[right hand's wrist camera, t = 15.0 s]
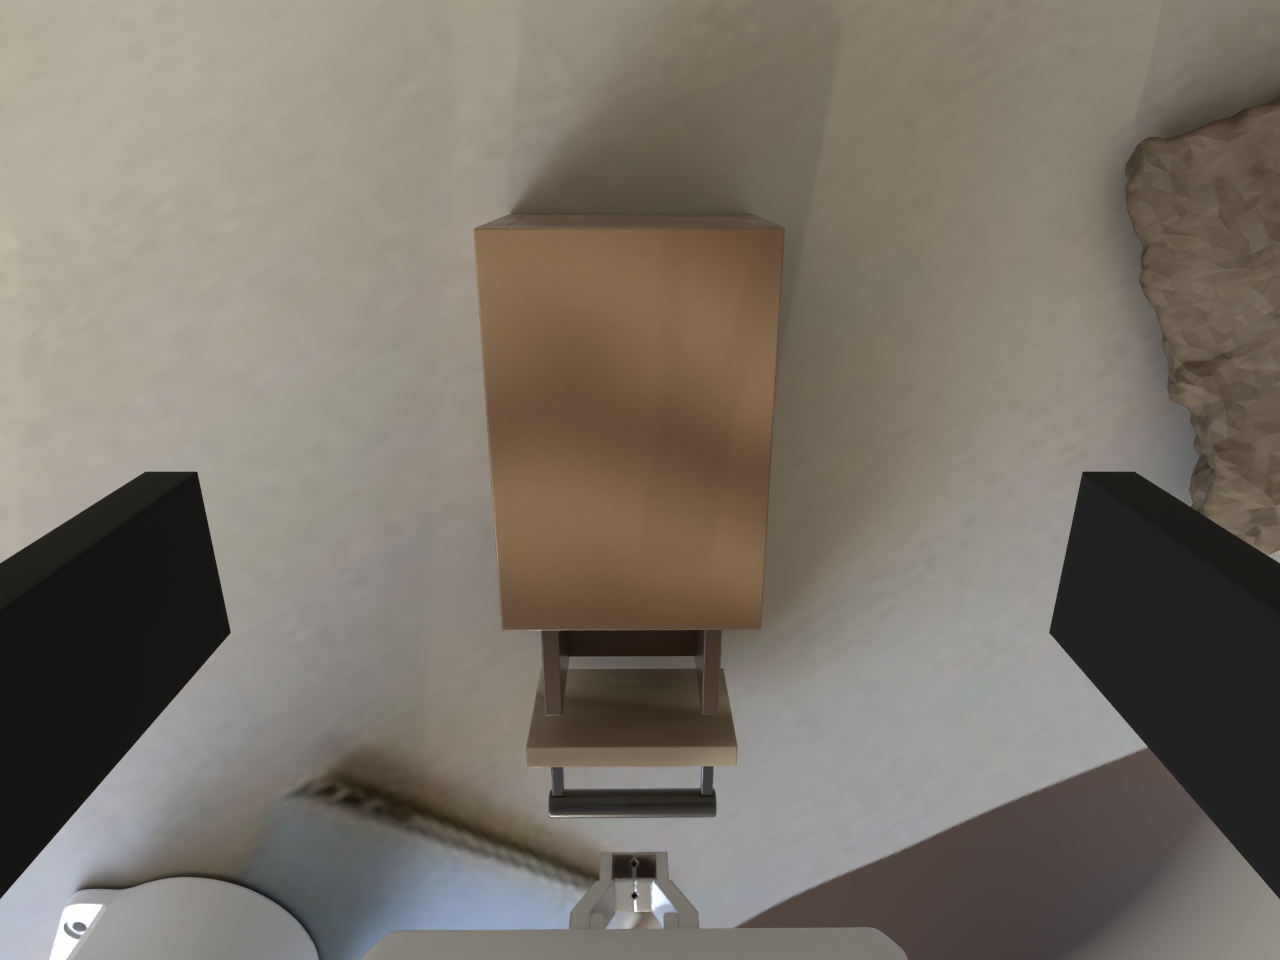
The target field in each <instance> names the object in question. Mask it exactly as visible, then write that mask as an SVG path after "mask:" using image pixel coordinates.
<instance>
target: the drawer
mask: <svg viewBox="0 0 1280 960" xmlns="http://www.w3.org/2000/svg"><path fill="white" fill-rule="evenodd" d="M721 635H722V630H541V640H542V660H543V669H542V670H541V671H540V676H539V682H538V687H537V692H536V698H535V703H534V709H533V714H532V720H531V725H530V731H529V736H528V741H527V747H526V750H527V766H528V767H551V772H552V789H551V790H550V793H549V817H550V818H687V817H715V816H716V793H715V789H714V788H713V766H736V765H737V747H738V746H737V741H736V735H735V730H734V724H733V719H732V713H731V707H730V702H729V696H728V691H727V685H726V679H725V674H724V669H720V660H721ZM570 656H695V664H696V669H568V665H569V658H570ZM654 766H701V786H700V788H670V789H565V787H564V767H654Z"/></svg>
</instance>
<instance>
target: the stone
mask: <svg viewBox="0 0 1280 960" xmlns="http://www.w3.org/2000/svg"><path fill="white" fill-rule="evenodd" d="M1125 173H1126V176H1127V178H1128V184H1127V186H1126V199H1127V209H1128V213H1129V216H1130V218H1131V220H1132V224H1133V229H1134V231H1135V233H1136V234H1137V236H1138V237H1139V239H1140V240H1141V241H1142V243H1143V253H1142V258H1141V263H1142V271H1141V275H1140V279H1139V282H1140V285H1141V287H1142V289H1143V292H1144V294H1145V296H1146V298H1147V299H1148V301H1149V302H1150V303H1151V304H1152V306H1153V307H1154V308H1155V311H1156V314H1157V317H1158V320H1159V323H1160V325H1161V328H1162V330H1163V342H1162V346H1163V348H1164V351H1165V353H1166V355H1167V359H1168V363H1169V377H1168V387H1167V388H1168V393H1169V397H1170V399H1171V400H1172V401H1174V402H1178V403H1180V404H1182V405H1184V406H1185V407H1187V408H1188V410H1189V411H1190V412H1191V421H1190V422H1191V424H1192V426H1193V428H1194V430H1195V432H1196V438H1195V442H1194V447H1195V450H1196V452H1197V454H1198V455H1199V457H1200V459H1199V460H1198V462H1197V464H1196V466H1195V468H1194V470H1193V475H1192V478H1191V483H1190V488H1189V490H1190V494H1191V498H1192V501H1193V505H1192V506H1191V508H1193V509H1194V510H1196V511H1197V512H1199V513H1201V514H1202V515H1204V516H1205V517H1207V518H1209V519H1210V520H1212V521H1213V522H1215V523H1216V524H1218V525H1220V526H1221V527H1223V528H1224V529H1226V530H1228V531H1229V532H1231V533H1232V534H1234V535H1236V536H1237V537H1239V538H1240V539H1242V540H1243V541H1245V542H1247V543H1248V544H1250V545H1251V546H1253V547H1255V548H1256V549H1258V550H1259V551H1261V552H1262V553H1264V554H1272V553H1274V552H1276V551H1278V550H1280V96H1279V97H1278V98H1276V99H1275V100H1273V101H1271V102H1270V103H1268V104H1266V105H1264V106H1254V107H1252V108H1244V109H1243V110H1241V111H1240V112H1239V113H1237V114H1236V115H1234V116H1232V117H1230V118H1226V119H1223V120H1219V121H1215V122H1212V123H1208V124H1206V125H1204V126H1203V127H1200V128H1198V129H1196V130H1194V131H1191V132H1188V133H1185V134H1182V135H1180V136H1177V137H1174V138H1170V139H1162V138H1159V137H1149V138H1147V139H1145V140H1143V141H1142V142H1141V143H1140V144H1139V145H1138V146H1137V147H1136V149H1135V151H1134V153H1133V155H1132V156H1131V158H1130V159H1129V161H1128V162H1127V164H1126V170H1125Z"/></svg>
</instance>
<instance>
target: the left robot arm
mask: <svg viewBox="0 0 1280 960" xmlns="http://www.w3.org/2000/svg"><path fill="white" fill-rule="evenodd" d="M633 911H636V912H653V913H654V915H655V916H656V918H657V919H658V921H659V922H660V924H661V925H662V927H663V929H605V928H606V927H607V925H608V924H609V922H610V921H611V919H612V918H613V916H614V915H615V912H633ZM49 960H319V956H318V953H317V950H316V947H315V945H314V943H313V941H312V939H311V938H310V936H309V935H308V933H307V932H306V930H305V929H304V928H303V926H302V925H301V924H300V923H299V922H298V921H297V920H296V919H295V918H294V917H293V916H292V915H291V914H290V913H288V912H287V911H286V910H285V909H283V908H282V907H281V906H279V905H278V904H276V903H275V902H273V901H272V900H270V899H268V898H267V897H265V896H263V895H261V894H259V893H257V892H254V891H252V890H250V889H247V888H245V887H242V886H239V885H236V884H232V883H229V882H225V881H220V880H215V879H209V878H199V877H175V878H166V879H160V880H156V881H151V882H148V883H145V884H142V885H138V886H135V887H132V888H128V889H122V890H115V889H85V890H80V891H77V892H75V893H74V894H73V895H72V896H71V898H70V900H69V901H68V903H67V905H66V906H65V908H64V910H63V913H62V916H61V920H60V923H59V927H58V930H57V934H56V937H55V941H54V945H53V948H52V952H51V955H50V959H49ZM362 960H908V958H907V956H906V954H905V952H904V951H903V950H902V949H901V948H900V947H899V946H898V945H897V944H895V943H894V942H893V941H892V940H891V939H889V938H888V937H887V936H886V935H884V934H883V933H882V932H880V931H879V930H877V929H875V928H867V927H860V928H736V929H699V920H698V911H697V910H696V909H695V908H694V907H693V905H692V904H691V903H690V902H689V901H688V899H687V898H686V897H685V896H684V895H683V893H682V892H681V891H680V890H679V889H678V887H677V886H676V885H675V884H674V883H673V881H672V880H669V875H668V855H667V852H634V853H633V852H613V853H612V852H601V862H600V881H596V882H595V883H594V885H593V886H592V887H591V888H590V889H589V891H588V892H587V893H586V894H585V895H584V897H583V898H582V899H581V900H580V901H579V903H578V904H577V905H576V906H575V907H574V909H573V910H572V911H571V913H570V924H569V930H400V931H394V932H391V933H389V934H388V935H386V936H385V937H384V938H382V939H381V940H380V941H379V942H378V943H376V944H375V945H374V946H373V947H372V948H371V949H370V950H368V951H367V952H366V953H365V954H364V956H363V958H362Z"/></svg>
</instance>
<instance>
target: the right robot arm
mask: <svg viewBox="0 0 1280 960" xmlns="http://www.w3.org/2000/svg"><path fill="white" fill-rule="evenodd" d="M230 633H231V632H230V627H229V622H228V617H227V613H226V608H225V603H224V598H223V593H222V589H221V584H220V579H219V574H218V569H217V565H216V560H215V555H214V550H213V545H212V541H211V536H210V531H209V526H208V521H207V517H206V512H205V507H204V502H203V497H202V493H201V488H200V483H199V478H198V473H197V472H144V473H143V474H141V475H140V476H138V477H136V478H135V479H133V480H132V481H130V482H129V483H127V484H125V485H124V486H122V487H121V488H119V489H117V490H116V491H114V492H113V493H111V494H109V495H108V496H106V497H105V498H103V499H102V500H100V501H98V502H97V503H95V504H94V505H92V506H90V507H89V508H87V509H86V510H84V511H83V512H81V513H79V514H78V515H76V516H75V517H73V518H71V519H70V520H68V521H67V522H65V523H64V524H62V525H60V526H59V527H57V528H56V529H54V530H52V531H51V532H49V533H48V534H46V535H44V536H43V537H41V538H40V539H38V540H37V541H35V542H33V543H32V544H30V545H29V546H27V547H25V548H24V549H22V550H21V551H19V552H18V553H16V554H14V555H13V556H11V557H10V558H8V559H6V560H5V561H3V562H2V563H0V899H1V897H2V896H3V895H4V894H5V893H6V892H7V890H8V889H9V888H10V887H11V886H12V885H13V884H14V882H15V881H16V880H17V879H18V878H19V877H20V875H21V874H22V873H23V872H24V871H25V870H26V869H27V867H28V866H29V865H30V864H31V863H32V862H33V860H34V859H35V858H36V857H37V856H38V855H39V854H40V852H41V851H42V850H43V849H44V848H45V847H46V845H47V844H48V843H49V842H50V841H51V840H52V839H53V837H54V836H55V835H56V834H57V833H58V832H59V830H60V829H61V828H62V827H63V826H64V825H65V823H66V822H67V821H68V820H69V819H70V818H71V817H72V815H73V814H74V813H75V812H76V811H77V810H78V808H79V807H80V806H81V805H82V804H83V803H84V802H85V800H86V799H87V798H88V797H89V796H90V795H91V793H92V792H93V791H94V790H95V789H96V788H97V787H98V785H99V784H100V783H101V782H102V781H103V780H104V778H105V777H106V776H107V775H108V774H109V773H110V772H111V770H112V769H113V768H114V767H115V766H116V765H117V763H118V762H119V761H120V760H121V759H122V758H123V756H124V755H125V754H126V753H127V752H128V751H129V750H130V748H131V747H132V746H133V745H134V744H135V743H136V741H137V740H138V739H139V738H140V737H141V736H142V735H143V733H144V732H145V731H146V730H147V729H148V728H149V726H150V725H151V724H152V723H153V722H154V721H155V720H156V718H157V717H158V716H159V715H160V714H161V713H162V711H163V710H164V709H165V708H166V707H167V706H168V705H169V703H170V702H171V701H172V700H173V699H174V698H175V696H176V695H177V694H178V693H179V692H180V691H181V689H182V688H183V687H184V686H185V685H186V684H187V683H188V681H189V680H190V679H191V678H192V677H193V676H194V674H195V673H196V672H197V671H198V670H199V669H200V668H201V666H202V665H203V664H204V663H205V662H206V661H207V659H208V658H209V657H210V656H211V655H212V654H213V653H214V651H215V650H216V649H217V648H218V647H219V646H220V644H221V643H222V642H223V641H224V640H225V639H226V638H227V636H228V635H229V634H230ZM1049 633H1050V634H1051V635H1052V636H1053V638H1054V639H1055V640H1056V641H1057V642H1058V643H1059V644H1060V646H1061V647H1062V648H1063V649H1064V650H1065V651H1066V653H1067V654H1068V655H1069V656H1070V657H1071V658H1072V659H1073V661H1074V662H1075V663H1076V664H1077V665H1078V666H1079V668H1080V669H1081V670H1082V671H1083V672H1084V673H1085V674H1086V676H1087V677H1088V678H1089V679H1090V680H1091V681H1092V683H1093V684H1094V685H1095V686H1096V687H1097V688H1098V689H1099V691H1100V692H1101V693H1102V694H1103V695H1104V696H1105V698H1106V699H1107V700H1108V701H1109V702H1110V703H1111V705H1112V706H1113V707H1114V708H1115V709H1116V710H1117V711H1118V713H1119V714H1120V715H1121V716H1122V717H1123V718H1124V720H1125V721H1126V722H1127V723H1128V724H1129V725H1130V726H1131V728H1132V729H1133V730H1134V731H1135V732H1136V733H1137V735H1138V736H1139V737H1140V738H1141V739H1142V740H1143V741H1144V743H1145V744H1146V745H1147V746H1148V747H1149V748H1150V750H1151V751H1152V752H1153V753H1154V754H1155V755H1156V756H1157V758H1158V759H1159V760H1160V761H1161V762H1162V763H1163V765H1164V766H1165V767H1166V768H1167V769H1168V770H1169V771H1170V773H1171V774H1172V775H1173V776H1174V777H1175V778H1176V780H1177V781H1178V782H1179V783H1180V784H1181V785H1182V786H1183V788H1184V789H1185V790H1186V791H1187V792H1188V793H1189V795H1190V796H1191V797H1192V798H1193V799H1194V800H1195V802H1196V803H1197V804H1198V805H1199V806H1200V807H1201V808H1202V810H1203V811H1204V812H1205V813H1206V814H1207V815H1208V817H1209V818H1210V819H1211V820H1212V821H1213V822H1214V823H1215V825H1216V826H1217V827H1218V828H1219V829H1220V830H1221V832H1222V833H1223V834H1224V835H1225V836H1226V837H1227V839H1228V840H1229V841H1230V842H1231V843H1232V844H1233V845H1234V847H1235V848H1236V849H1237V850H1238V851H1239V852H1240V854H1241V855H1242V856H1243V857H1244V858H1245V859H1246V860H1247V862H1248V863H1249V864H1250V865H1251V866H1252V867H1253V869H1254V870H1255V871H1256V872H1257V873H1258V874H1259V875H1260V877H1261V878H1262V879H1263V880H1264V881H1265V882H1266V884H1267V885H1268V886H1269V887H1270V888H1271V889H1272V890H1273V892H1274V893H1275V894H1276V895H1277V896H1278V897H1279V899H1280V563H1278V562H1277V561H1275V560H1274V559H1272V558H1270V557H1269V556H1267V555H1266V554H1264V553H1262V552H1261V551H1259V550H1258V549H1256V548H1255V547H1253V546H1251V545H1250V544H1248V543H1247V542H1245V541H1243V540H1242V539H1240V538H1239V537H1237V536H1236V535H1234V534H1232V533H1231V532H1229V531H1228V530H1226V529H1224V528H1223V527H1221V526H1220V525H1218V524H1216V523H1215V522H1213V521H1212V520H1210V519H1209V518H1207V517H1205V516H1204V515H1202V514H1201V513H1199V512H1197V511H1196V510H1194V509H1193V508H1191V507H1190V506H1188V505H1186V504H1185V503H1183V502H1182V501H1180V500H1178V499H1177V498H1175V497H1174V496H1172V495H1171V494H1169V493H1167V492H1166V491H1164V490H1163V489H1161V488H1159V487H1158V486H1156V485H1155V484H1153V483H1151V482H1150V481H1148V480H1147V479H1145V478H1144V477H1142V476H1140V475H1139V474H1137V473H1136V472H1083V473H1082V478H1081V483H1080V488H1079V493H1078V497H1077V502H1076V507H1075V512H1074V517H1073V521H1072V526H1071V531H1070V536H1069V541H1068V545H1067V550H1066V555H1065V560H1064V565H1063V569H1062V574H1061V579H1060V584H1059V589H1058V593H1057V598H1056V603H1055V608H1054V613H1053V617H1052V622H1051V627H1050V632H1049Z"/></svg>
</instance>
